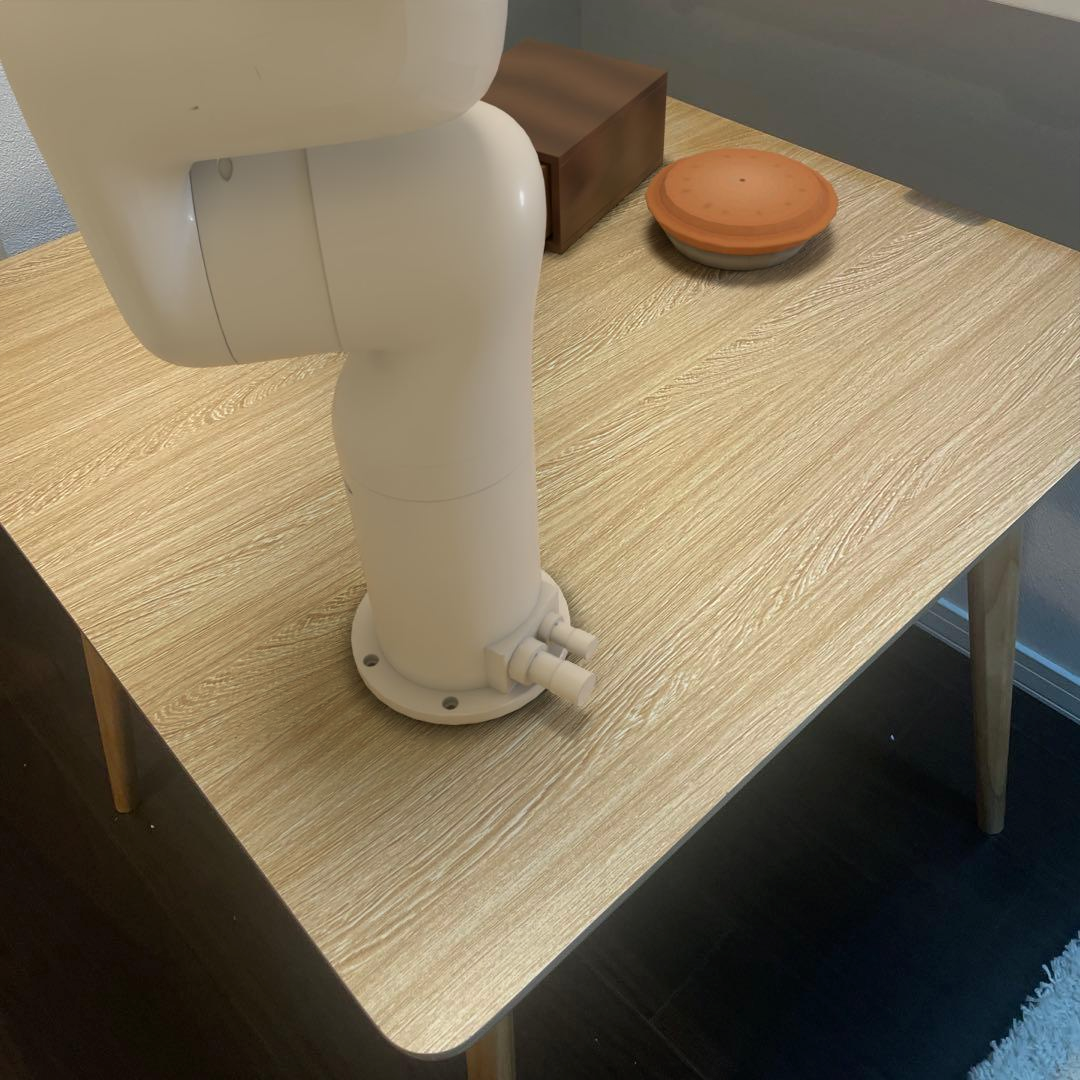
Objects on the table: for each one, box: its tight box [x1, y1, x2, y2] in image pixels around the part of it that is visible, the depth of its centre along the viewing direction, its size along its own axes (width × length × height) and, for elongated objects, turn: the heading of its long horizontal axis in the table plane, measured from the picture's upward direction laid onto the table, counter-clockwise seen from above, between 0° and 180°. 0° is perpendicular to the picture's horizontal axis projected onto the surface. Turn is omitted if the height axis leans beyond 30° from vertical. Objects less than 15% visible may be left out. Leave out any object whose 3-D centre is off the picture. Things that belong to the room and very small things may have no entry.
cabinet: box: [480, 36, 669, 255], centre depth 97 cm, size 18×15×9 cm
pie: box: [644, 147, 840, 272], centre depth 92 cm, size 15×16×5 cm
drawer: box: [539, 161, 553, 239], centre depth 88 cm, size 22×13×7 cm, turn 147°
